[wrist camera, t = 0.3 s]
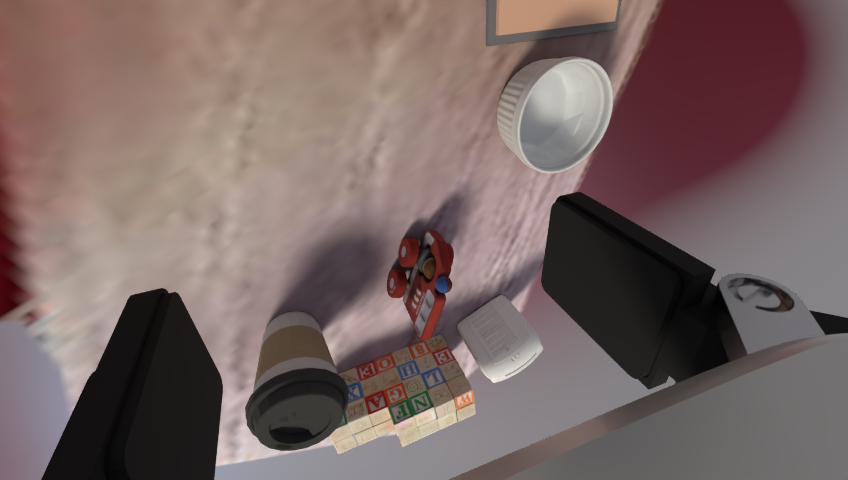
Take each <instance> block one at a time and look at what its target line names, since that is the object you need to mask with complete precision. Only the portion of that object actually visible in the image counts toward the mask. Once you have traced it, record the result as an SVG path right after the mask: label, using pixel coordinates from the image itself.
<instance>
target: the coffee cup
mask: <svg viewBox="0 0 848 480" xmlns="http://www.w3.org/2000/svg"><path fill="white" fill-rule="evenodd" d="M348 394H349V390H348V387H347V384H346V381H345V380H343V379H342V378H341V377H340V376H339V375H338V373H337V370H336V368H335V365H334V363H333V360H332V357H331V355H330V352H329V350H328V347H327V345H326V342H325V339H324V337H323V334H322V332H321V329H320V327H319V324H318V323H317V322H316V320H315V319H314V318H313V317H312V316H311V315H309V314H307V313H304V312H298V311H294V312H287V313H284V314H281V315H279V316H277V317H276V318H274V319H273V320H272V321H271V322H270V323H269V324H268V326H267V328H266V330H265V333H264V335H263V340H262V346H261V351H260V357H259V362H258V368H257V373H256V379H255V384H254V390H253V394H252V395H251V396H250V398H249V401H248V403H247V405H246V407H245V410H246V419H247V426H248V427H249V429H250V431H251V432H252V434H253V435H255V436H256V437H257V438H258V440H259V441H260V443H262V444H263V445H265V446H267V447H268V448H271V449H276V450H280V451H291V450H298V449H303V448H307V447H309V446H312V445H314V444H317V443H319V442H321V441H322V440H324V439H325V438H327V437H329V436H330V435H331V434H332V433H333V432H334V431H335V430H336V429H337V428H338V426H339V425H340V423H341V421H342V419H343V415H344V413H345V412H346V410H347V408H348V401H349V395H348Z"/></svg>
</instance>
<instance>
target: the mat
mask: <svg viewBox="0 0 848 480" xmlns="http://www.w3.org/2000/svg"><path fill="white" fill-rule="evenodd" d="M620 6H621V0H619V1H618V7H617V13H616V19H615V21H612V22H604V23H596V24H588V25H580V26H571V27H563V28H555V29H547V30H539V31H531V32H523V33H515V34H507V35H499V36H498V35H496V11H497V0H487V17H486V46H493V45H500V44H508V43H516V42H523V41H531V40H539V39H546V38H554V37H562V36H569V35H577V34H584V33H592V32H600V31H607V30H615V29H617V23H618V17H619V12H620Z"/></svg>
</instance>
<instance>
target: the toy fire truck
mask: <svg viewBox="0 0 848 480" xmlns="http://www.w3.org/2000/svg"><path fill="white" fill-rule="evenodd" d="M398 257H399V262H400V264H401V266H403V267H410V268H411V267H413V270H412V273H411V276H410V277H409V278H408V279H407V277H406V273H405V271H404V270H402V269H392V270H391V272H390V273H389V276H388V280H387V291H388V294H389V296H390V297H392V298H401V297H402V296H403V295H404V297H403V301H404V304H405V306H406V308H407V310H408V313H409V315H410V317H411V319H412V321H413V324H414V330H415V333H416V335H417V337H418V339H419V340H429V339H430V338H431V336H432V334H433V331H434V329H435V326H436V324H437V322H438V319H439V316H440V314H441V312H442V309H443V307H444V304H445V301H446V296H445V293H447V292H449V291H450V290H451V288H452V282H451V280H450V278H448V277H449V275H450V272H451V266H452V263H453V258H454V252H453V248H452V246H451V245H450V244H448V243H446V242H445V240H444V239H443V238H442V237H441V235H440V234H439V233H438V232H436V231H432V230H428V231H427V232H426V234H425V236H424V239H423V242H422V244H421V246H420V247H419V243H418V241H417V240H416V239H414V238H404V239H403V240H402V242H401V244H400V248H399V256H398Z"/></svg>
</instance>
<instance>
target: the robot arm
mask: <svg viewBox="0 0 848 480" xmlns="http://www.w3.org/2000/svg"><path fill="white" fill-rule="evenodd" d="M714 272H715V269H713V268H712V267H710V266H708V265H707V264H705V263H703V262H702V261H700V260H698V259H696V258H695V257H693V256H691V255H689V254H688V253H686V252H684V251H682V250H681V249H679V248H677V247H676V246H674V245H672V244H670V243H669V242H667V241H665V240H663V239H661V238H660V237H658V236H656V235H655V234H653V233H651V232H649V231H648V230H646V229H644V228H642V227H641V226H639V225H637V224H635V223H634V222H632V221H630V220H628V219H627V218H625V217H623V216H622V215H620V214H618V213H616V212H615V211H613V210H611V209H609V208H607V207H606V206H604V205H602V204H601V203H599V202H597V201H595V200H593V199H592V198H590V197H588V196H587V195H585V194H583V193H581V192H576V193H571V194H567V195H563V196H560V197H558V198H557V200H556V202H555V203H554V204H553V205H552V208H551V213H550V221H549V228H548V235H547V242H546V249H545V256H544V263H543V271H542V278H541V283H542V286H543V289H544V290H545V292H546V293H547V294H548V295H549V296H550V297H551V298H552V299H554V301H555V302H556V303H557V304H558V305H559V306H560V307H561V308H562V309H563V310H565V312H566V313H567V314H568V315H569V316H570V317H571V318H572V319H573V320H574V321H575V322H576V323H577V324H578V325H579V326H580V327H581V328H582V329H583V330H585V332H587V334H588V335H589V336H590V337H591V338H592V339H593V340H594V341H595V342H596V343H597V344H598V345H599V346H600V347H601V348H602V349H604V351H606V353H607V354H608V355H609V356H610V357H611V358H612V359H613V360H614V361H615V362H616V363H618V365H619V366H621V368H623V369H624V370H625V371H626V372H627V373H628V374H629V375H630V376H631V377H633V378H635V379H638V380H639V381H641V383H642V384H643V385H645V386H646V387H647V388H648V389H651V388H654V387H656V386H659V385H661V384H663V383H666V381H667V379H668V377H669V376H670V377H672V378H673V379H674V380H675V382H676V383H675V384H674V385H672V386H669V387H667V388H665V389H662V390H660V391H658V392H655V393H652V394H650V395H648V396H645V397H643V398H641V399H638V400H636V401H633V402H631V403H629V404H626V405H624V406H622V407H619V408H617V409H614V410H612V411H609V412H607V413H605V414H602V415H600V416H598V417H595V418H593V419H591V420H588V421H586V422H583V423H581V424H579V425H576V426H574V427H571V428H569V429H567V430H564V431H562V432H560V433H557V434H555V435H553V436H550V437H548V438H545V439H543V440H541V441H539V442H536V443H534V444H531V445H529V446H527V447H524V448H522V449H520V450H517V451H515V452H513V453H510V454H508V455H505V456H503V457H501V458H498V459H496V460H494V461H492V462H489V463H487V464H484V465H482V466H480V467H477V468H475V469H473V470H470V471H468V472H465V473H463V474H461V475H459V476H456V477H454V478H451V479H450V480H848V318H845V317H840V316H835V315H830V314H824V313H820V312H814V311H809V310H808V308H807V307H806V305H805V304H804V302H803V301H802V300H801V299H800V298H799V297H798V296H797V294H796V293H794V292H793V291H791V290H790V289H788V288H787V287H785V286H783V285H781V284H779V283H777V282H775V281H773V280H770V279H767V278H764V277H761V276H756V275H751V274H741V273H736V274H728V275H726V276H724V277H722V278H721V280H720V281H719V283H718V285H717V287H716V286H715V285H713V284H711V283H710V281H711V279H712V277H713V274H714ZM222 394H223V384H222V379H221V376H220V373H219V372H218V370H217V368H216V366H215V364H214V362H213V360H212V358H211V356H210V354H209V352H208V350H207V348H206V346H205V344H204V342H203V340H202V338H201V336H200V334H199V332H198V331H197V329H196V327H195V325H194V323H193V321H192V319H191V317H190V315H189V313H188V311H187V309H186V307H185V305H184V303H183V301H182V299H181V297H180V296H179V294H178V293H176V292H173V293H168V291H167V290H166V289H164V288H160V289H156V290H152V291H147V292H143V293H139V294H134V295H131V296H130V297H129V299H128V300H127V303H126V305H125V307H124V309H123V311H122V314H121V316H120V318H119V320H118V322H117V325H116V327H115V329H114V331H113V334H112V336H111V338H110V340H109V342H108V345H107V347H106V349H105V351H104V353H103V356H102V358H101V360H100V362H99V364H98V367H97V369H96V371H95V372H93V373H92V374H91V376H90V377H89V379H88V380H87V382H86V384H85V387H84V389H83V391H82V393H81V395H80V397H79V400H78V402H77V404H76V406H75V408H74V410H73V412H72V415H71V417H70V419H69V421H68V423H67V425H66V428H65V430H64V432H63V434H62V436H61V438H60V441H59V443H58V445H57V447H56V449H55V451H54V453H53V456H52V458H51V460H50V462H49V464H48V466H47V468H46V471H45V473H44V475H43V477H42V480H214V476H215V465H216V455H217V445H218V435H219V424H220V414H221V404H222Z"/></svg>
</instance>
